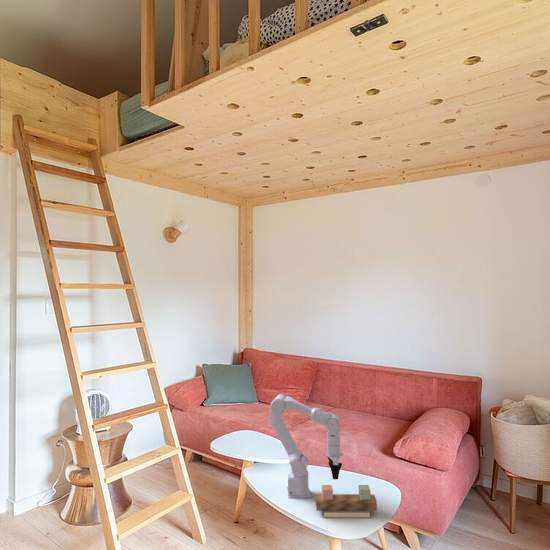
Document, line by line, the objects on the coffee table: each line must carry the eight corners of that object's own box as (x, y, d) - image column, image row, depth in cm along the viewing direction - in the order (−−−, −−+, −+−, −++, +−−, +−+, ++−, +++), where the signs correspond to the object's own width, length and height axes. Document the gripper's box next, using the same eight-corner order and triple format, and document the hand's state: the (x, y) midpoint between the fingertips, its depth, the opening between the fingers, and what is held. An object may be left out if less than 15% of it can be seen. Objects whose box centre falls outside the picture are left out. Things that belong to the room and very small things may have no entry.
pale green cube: (360, 499, 161) (360, 489, 161) (358, 494, 165) (358, 485, 165) (370, 499, 161) (370, 489, 161) (368, 494, 165) (368, 484, 165)
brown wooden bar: (316, 510, 161) (316, 500, 161) (315, 504, 166) (315, 494, 166) (376, 510, 160) (376, 500, 160) (374, 504, 165) (373, 494, 165)
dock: (324, 517, 160) (324, 512, 160) (322, 507, 167) (322, 502, 167) (369, 517, 159) (369, 512, 159) (366, 507, 166) (366, 503, 166)
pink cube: (323, 499, 162) (322, 489, 162) (322, 494, 166) (321, 485, 166) (332, 499, 162) (332, 489, 162) (331, 494, 166) (331, 485, 166)
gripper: (345, 449, 169) (345, 482, 169) (340, 437, 184) (341, 467, 183) (328, 449, 170) (329, 482, 169) (325, 437, 184) (326, 467, 183)
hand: (334, 475), depth 176 cm, fingers open, 7 cm apart
